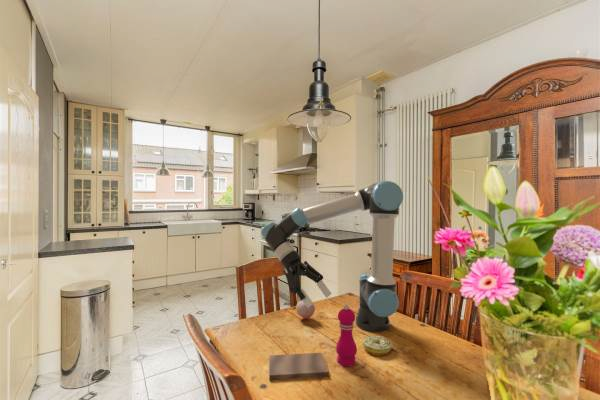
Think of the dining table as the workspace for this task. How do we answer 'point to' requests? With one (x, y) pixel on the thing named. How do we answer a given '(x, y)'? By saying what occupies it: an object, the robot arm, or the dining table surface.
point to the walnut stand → (297, 366)
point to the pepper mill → (346, 338)
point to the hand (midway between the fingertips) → (320, 300)
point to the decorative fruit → (305, 310)
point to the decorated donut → (377, 345)
